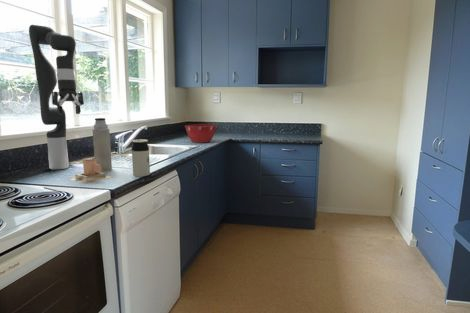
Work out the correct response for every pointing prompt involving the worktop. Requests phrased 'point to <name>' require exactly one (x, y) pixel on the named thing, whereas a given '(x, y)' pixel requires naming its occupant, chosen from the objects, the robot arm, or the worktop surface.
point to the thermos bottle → (102, 144)
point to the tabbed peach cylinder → (91, 167)
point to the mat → (51, 189)
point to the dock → (90, 177)
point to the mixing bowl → (200, 132)
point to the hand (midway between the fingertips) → (69, 114)
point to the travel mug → (140, 158)
